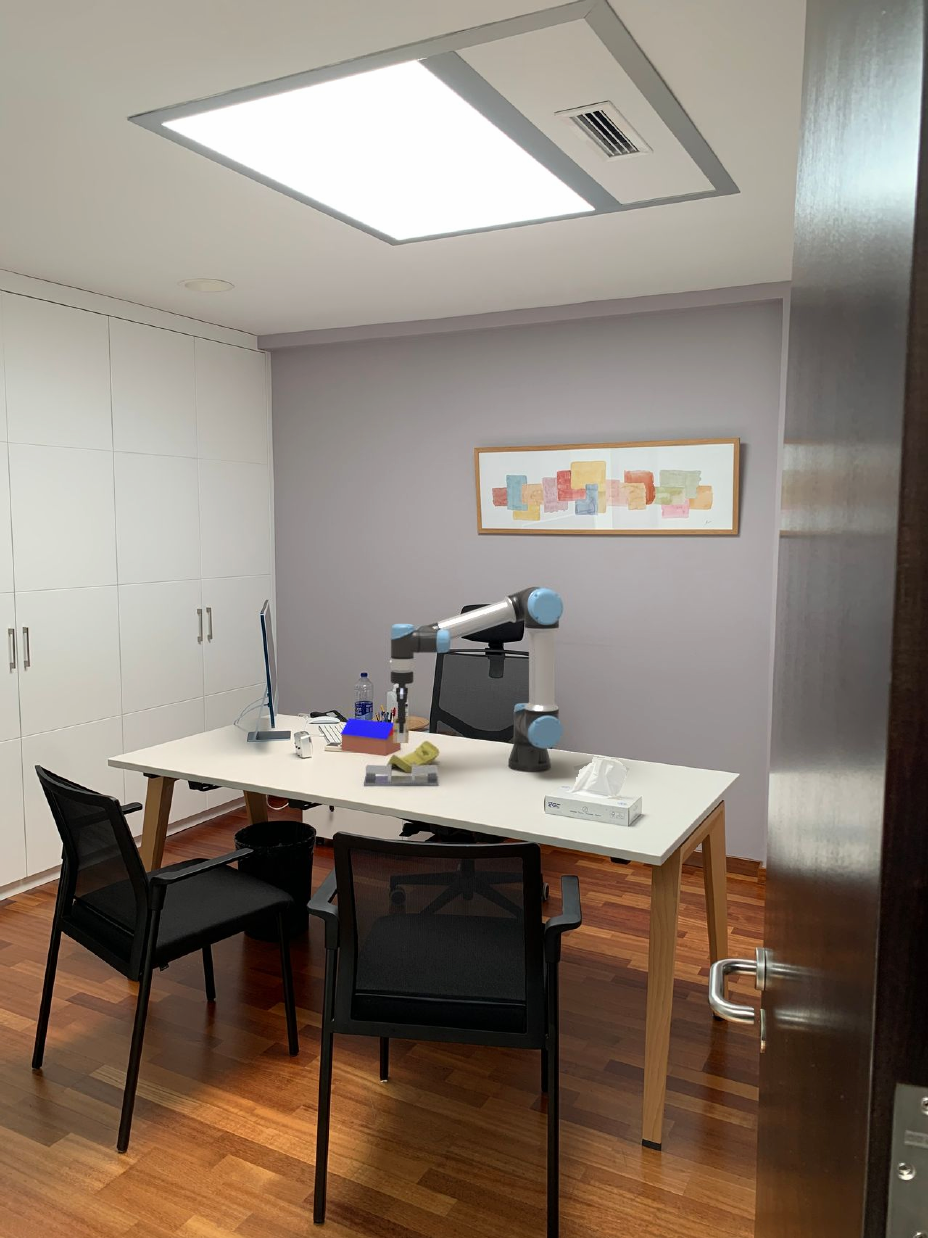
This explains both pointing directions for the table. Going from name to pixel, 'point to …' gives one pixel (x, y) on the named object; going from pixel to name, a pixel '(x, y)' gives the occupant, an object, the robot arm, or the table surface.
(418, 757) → the plastic component
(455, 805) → the table surface
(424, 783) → the shaft bench
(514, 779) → the table surface
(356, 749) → the house
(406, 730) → the banded wooden block
